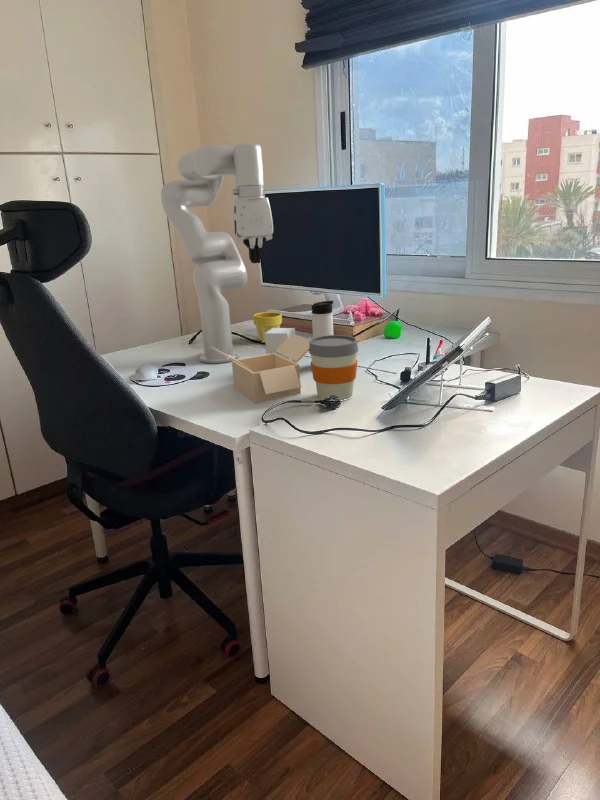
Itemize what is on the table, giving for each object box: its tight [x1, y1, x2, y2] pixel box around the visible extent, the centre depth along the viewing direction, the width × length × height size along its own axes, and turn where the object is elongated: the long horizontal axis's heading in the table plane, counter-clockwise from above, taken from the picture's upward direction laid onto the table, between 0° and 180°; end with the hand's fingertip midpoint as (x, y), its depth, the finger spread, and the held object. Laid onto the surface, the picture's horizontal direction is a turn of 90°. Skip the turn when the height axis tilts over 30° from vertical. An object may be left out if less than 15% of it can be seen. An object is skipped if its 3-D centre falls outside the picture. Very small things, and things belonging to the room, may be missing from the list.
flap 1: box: [211, 347, 252, 370], centre depth 158 cm, size 14×7×1 cm
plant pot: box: [252, 311, 283, 341], centre depth 220 cm, size 10×10×10 cm
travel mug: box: [311, 300, 334, 339], centre depth 183 cm, size 6×7×20 cm
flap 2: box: [276, 333, 311, 363], centre depth 166 cm, size 14×7×1 cm
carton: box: [231, 353, 302, 404], centre depth 164 cm, size 23×13×8 cm, turn 27°
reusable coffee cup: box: [308, 334, 359, 401], centre depth 156 cm, size 13×13×15 cm
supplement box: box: [264, 327, 298, 364], centre depth 181 cm, size 7×7×13 cm
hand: (255, 262), depth 168 cm, fingers closed
